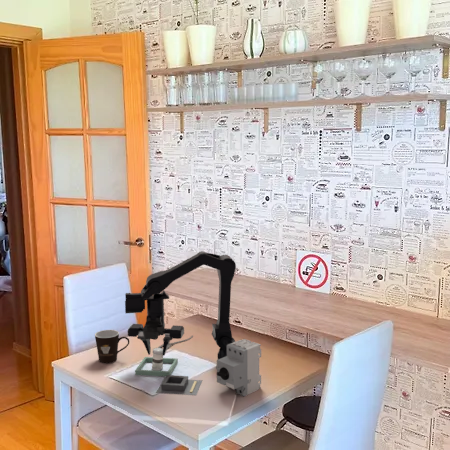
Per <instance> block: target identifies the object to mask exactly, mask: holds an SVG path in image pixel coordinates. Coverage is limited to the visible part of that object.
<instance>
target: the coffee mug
mask: <svg viewBox="0 0 450 450" xmlns="http://www.w3.org/2000/svg"><path fill="white" fill-rule="evenodd" d="M119 336H120V332H119V331H118V330H115V329H104V330H100V331H97V332H96V333H94V338H95V343H96V344H95V345H96V350H97V356H98V362H99V363H101V364H113V363H115V362H116V361H117V360H118V354H119V353H120V352H121V351H123V350H125V349H127V347H128V346H129V345H130V339H129V338H128V336H127V337H126V336H120V337H119ZM122 339H125V340H126V341H127V344H125V346H124V347H122V348H120V349H119V343H120V341H121V340H122ZM118 349H119V350H118Z"/></svg>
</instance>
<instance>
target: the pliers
mask: <svg viewBox="0 0 450 450" xmlns="http://www.w3.org/2000/svg"><path fill="white" fill-rule="evenodd" d="M193 337H194V335H191V336H190V337H188V338H187V339H182V340H178V341H174V342H171V340H170V341H169V344H168V347H167V350H169V349H170V348H171V347H173V346H174V345H177V344H181V343H184V342H187V341H190V340H191V339H192V338H193ZM157 348H162V349H163V343H162V344H161V345H159V346H158V347H157Z"/></svg>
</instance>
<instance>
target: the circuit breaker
mask: <svg viewBox="0 0 450 450" xmlns="http://www.w3.org/2000/svg"><path fill="white" fill-rule="evenodd" d="M261 345H262V344H260V343H258V342H254V341H251V340H249V339H246V338H243V339H239V340H235V342H233V343H231V344H228V345H227V356H226V357H223V358H221V359H218V358H217V360H216V367H215V369H216V382H217V384H219V385H223V386H225V387H227V388H229V389H232V390H236V391H235V394H237V395H240V396H242V397H246V396H248V395H250V394H252V393H255V392H257V391H259V390H261V389H262V387H261V385H262V375H261V374H260V358H262V348H261Z"/></svg>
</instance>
